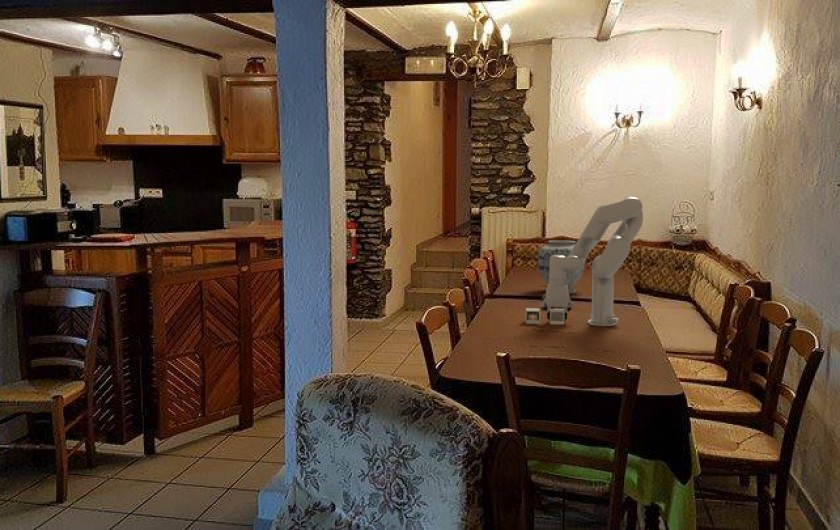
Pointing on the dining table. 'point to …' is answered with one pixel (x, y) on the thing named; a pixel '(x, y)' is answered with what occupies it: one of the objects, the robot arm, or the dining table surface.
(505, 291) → the dining table surface
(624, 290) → the dining table surface
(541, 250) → the apothecary jar
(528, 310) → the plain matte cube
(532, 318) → the letter block
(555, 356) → the dining table surface
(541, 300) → the tin
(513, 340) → the dining table surface
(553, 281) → the robot arm
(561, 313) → the cream cube
